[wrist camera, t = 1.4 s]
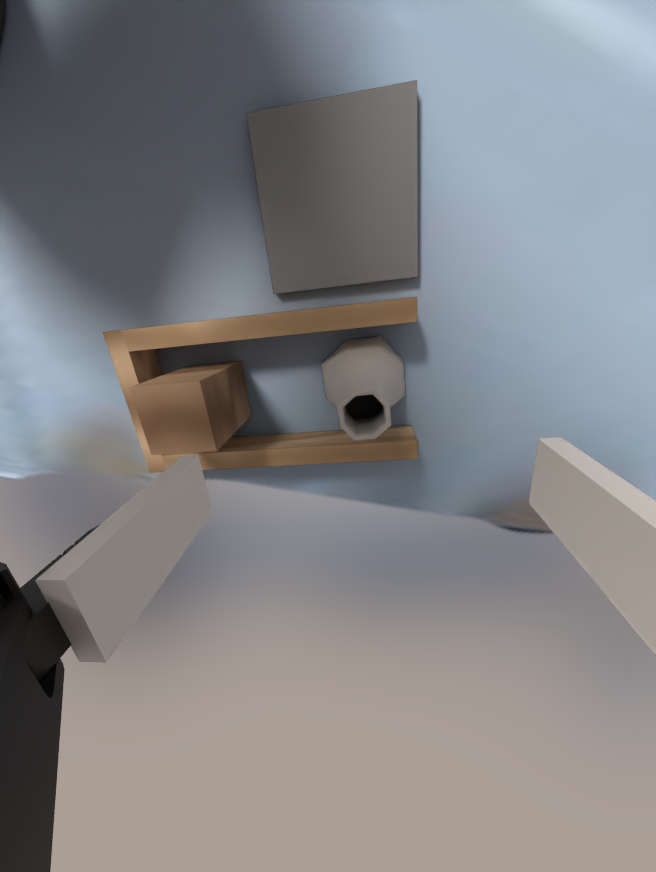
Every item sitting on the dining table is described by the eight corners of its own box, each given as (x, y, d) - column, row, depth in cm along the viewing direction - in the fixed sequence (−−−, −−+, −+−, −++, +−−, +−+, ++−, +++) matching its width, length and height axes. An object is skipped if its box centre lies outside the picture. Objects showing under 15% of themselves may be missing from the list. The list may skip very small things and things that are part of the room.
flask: (418, 399, 29) (445, 445, 19) (343, 431, 30) (335, 486, 21) (386, 319, 26) (400, 328, 17) (307, 358, 28) (281, 385, 19)
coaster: (249, 119, 22) (246, 112, 22) (415, 87, 21) (417, 80, 20) (276, 293, 26) (273, 293, 26) (416, 277, 25) (417, 276, 24)
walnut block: (187, 366, 29) (129, 387, 22) (241, 361, 29) (199, 381, 21) (201, 419, 31) (151, 455, 24) (251, 415, 31) (216, 451, 23)
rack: (131, 328, 29) (102, 332, 25) (409, 297, 26) (416, 297, 22) (170, 456, 33) (150, 472, 30) (411, 442, 30) (417, 458, 27)
